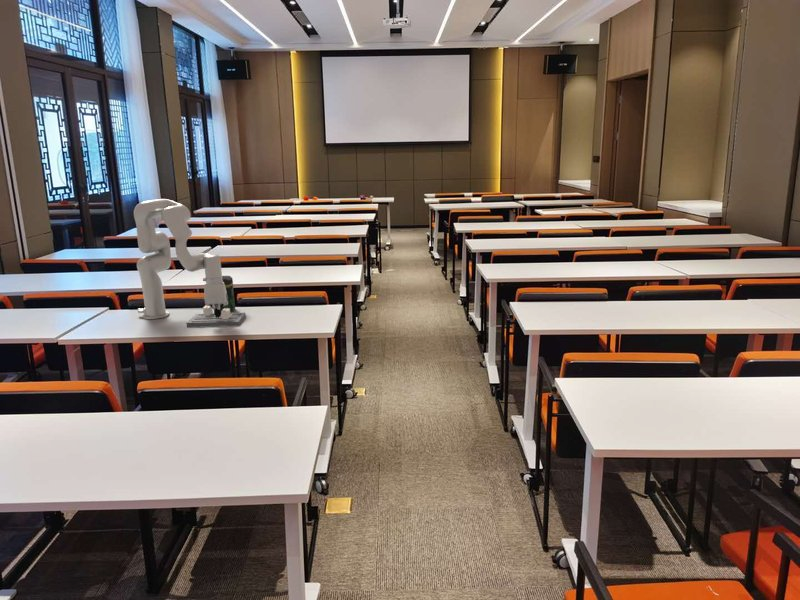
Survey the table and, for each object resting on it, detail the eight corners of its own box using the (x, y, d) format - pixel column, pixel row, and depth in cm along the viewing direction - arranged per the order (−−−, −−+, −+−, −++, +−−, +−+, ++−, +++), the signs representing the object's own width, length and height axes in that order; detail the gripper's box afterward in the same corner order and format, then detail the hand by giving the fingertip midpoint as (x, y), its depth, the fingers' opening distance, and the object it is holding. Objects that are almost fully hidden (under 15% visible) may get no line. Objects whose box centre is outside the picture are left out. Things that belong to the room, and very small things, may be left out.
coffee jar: (233, 313, 305) (229, 278, 300) (217, 313, 304) (214, 279, 299) (237, 308, 314) (233, 274, 309) (222, 308, 313) (218, 274, 308)
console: (186, 326, 284) (185, 312, 282) (196, 317, 298) (194, 304, 296) (238, 325, 284) (237, 311, 282) (245, 316, 299) (244, 303, 297)
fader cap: (221, 319, 285) (221, 311, 284) (224, 316, 289) (223, 308, 288) (228, 319, 285) (227, 311, 284) (230, 316, 290) (229, 308, 288)
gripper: (196, 282, 278) (200, 319, 283) (227, 281, 278) (231, 318, 283) (200, 279, 285) (205, 315, 290) (231, 278, 286) (235, 314, 291)
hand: (218, 316), depth 287 cm, fingers closed
